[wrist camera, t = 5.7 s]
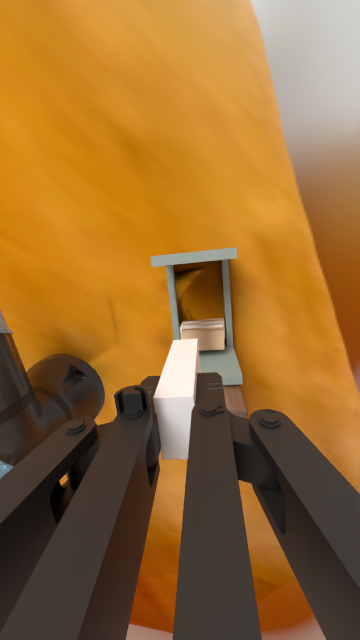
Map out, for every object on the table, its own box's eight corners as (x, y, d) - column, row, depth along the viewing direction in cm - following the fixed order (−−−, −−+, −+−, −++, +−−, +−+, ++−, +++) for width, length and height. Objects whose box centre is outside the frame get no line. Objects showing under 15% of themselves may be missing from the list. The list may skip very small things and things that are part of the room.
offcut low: (184, 337, 46) (183, 342, 44) (182, 320, 45) (181, 324, 43) (224, 334, 45) (225, 339, 43) (223, 317, 44) (224, 321, 42)
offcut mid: (183, 341, 44) (182, 346, 41) (181, 324, 43) (179, 328, 41) (222, 338, 43) (223, 343, 41) (221, 320, 42) (222, 324, 40)
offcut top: (183, 346, 41) (182, 351, 39) (182, 328, 41) (181, 332, 38) (223, 344, 41) (224, 349, 39) (222, 326, 40) (223, 330, 38)
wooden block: (220, 395, 49) (233, 474, 31) (197, 391, 49) (197, 468, 31) (229, 351, 46) (248, 411, 29) (205, 348, 46) (209, 405, 29)
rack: (177, 351, 47) (167, 387, 34) (166, 255, 42) (150, 256, 30) (232, 348, 45) (242, 384, 33) (226, 249, 41) (236, 247, 29)
